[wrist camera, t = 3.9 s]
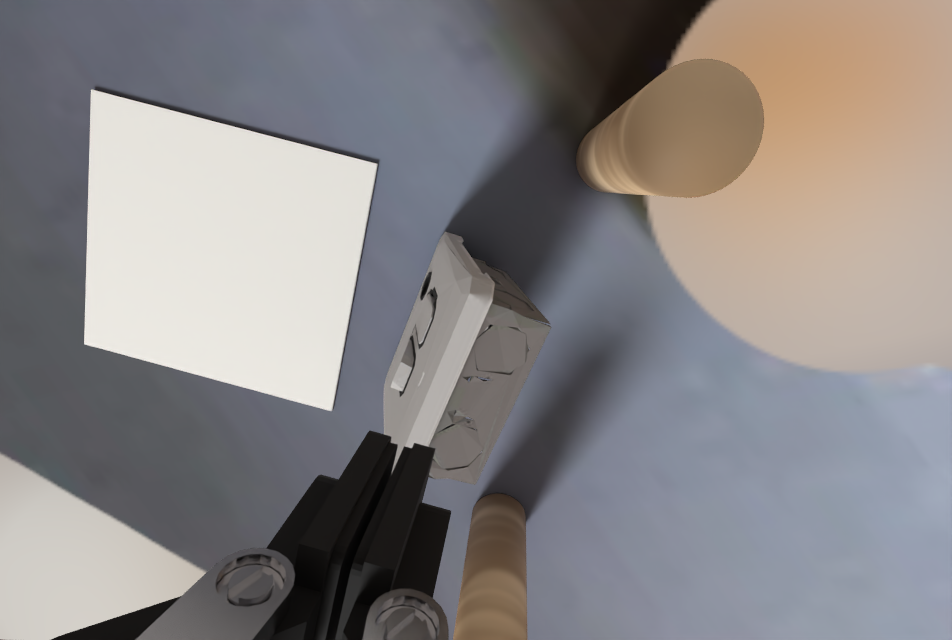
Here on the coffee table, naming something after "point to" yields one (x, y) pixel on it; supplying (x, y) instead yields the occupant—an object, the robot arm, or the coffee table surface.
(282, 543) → the robot arm
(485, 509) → the far oak dowel
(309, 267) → the mat
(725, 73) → the near oak dowel
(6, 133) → the coffee table surface
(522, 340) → the electrical switch
